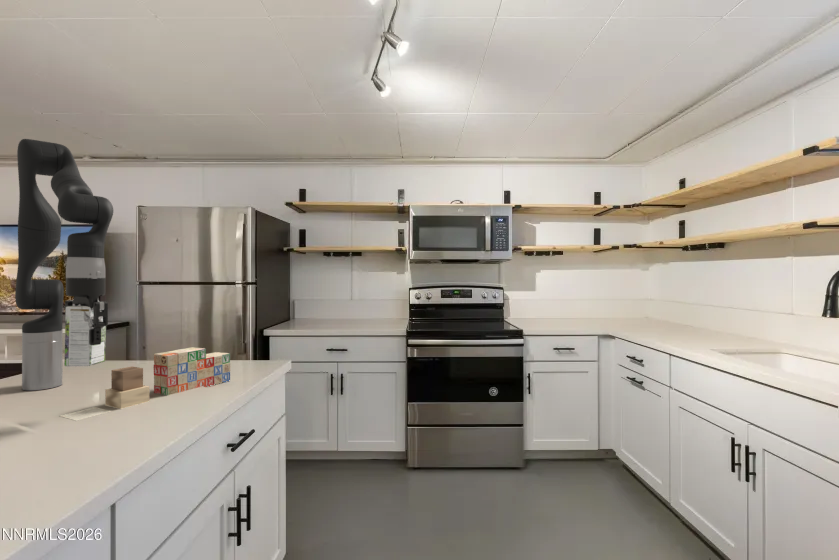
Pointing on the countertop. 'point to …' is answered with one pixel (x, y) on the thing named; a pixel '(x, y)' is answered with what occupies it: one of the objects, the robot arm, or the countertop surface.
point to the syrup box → (81, 339)
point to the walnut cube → (127, 378)
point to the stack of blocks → (189, 370)
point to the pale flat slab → (88, 413)
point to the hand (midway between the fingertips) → (85, 343)
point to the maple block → (126, 397)
